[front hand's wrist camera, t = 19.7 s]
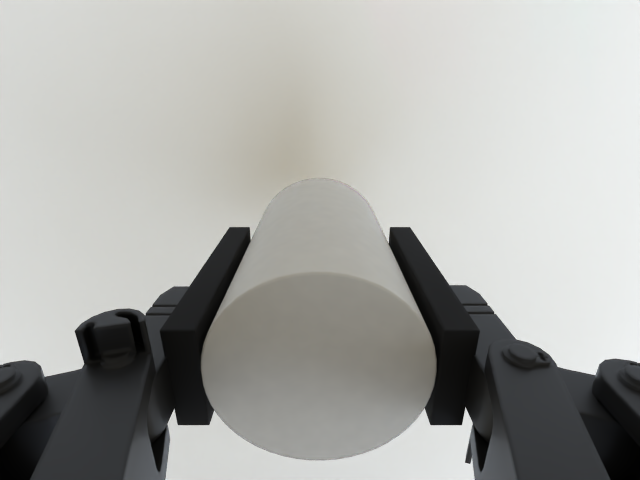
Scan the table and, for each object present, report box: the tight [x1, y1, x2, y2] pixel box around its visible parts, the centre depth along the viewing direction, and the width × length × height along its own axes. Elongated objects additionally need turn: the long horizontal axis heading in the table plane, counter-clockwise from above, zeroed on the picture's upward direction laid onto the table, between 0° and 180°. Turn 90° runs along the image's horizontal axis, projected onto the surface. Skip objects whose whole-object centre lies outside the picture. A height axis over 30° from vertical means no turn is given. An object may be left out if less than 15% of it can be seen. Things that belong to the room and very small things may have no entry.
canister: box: [201, 178, 437, 460], centre depth 12 cm, size 5×5×9 cm
